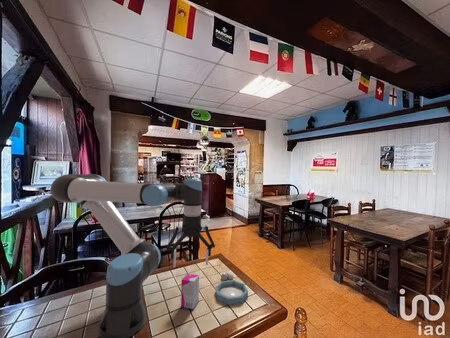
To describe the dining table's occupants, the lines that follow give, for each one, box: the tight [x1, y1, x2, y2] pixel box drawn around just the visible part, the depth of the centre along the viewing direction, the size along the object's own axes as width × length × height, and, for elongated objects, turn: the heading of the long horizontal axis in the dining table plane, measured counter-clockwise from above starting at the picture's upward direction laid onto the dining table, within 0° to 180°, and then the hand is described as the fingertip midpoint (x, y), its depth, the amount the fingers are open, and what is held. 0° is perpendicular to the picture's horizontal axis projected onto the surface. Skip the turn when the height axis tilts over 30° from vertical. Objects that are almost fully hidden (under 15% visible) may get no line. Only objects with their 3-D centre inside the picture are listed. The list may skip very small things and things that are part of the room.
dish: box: [215, 279, 249, 306], centre depth 90 cm, size 14×14×2 cm
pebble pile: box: [220, 272, 234, 281], centre depth 104 cm, size 6×6×4 cm
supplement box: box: [180, 273, 200, 311], centre depth 82 cm, size 6×6×12 cm
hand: (190, 264), depth 83 cm, fingers open, 13 cm apart
